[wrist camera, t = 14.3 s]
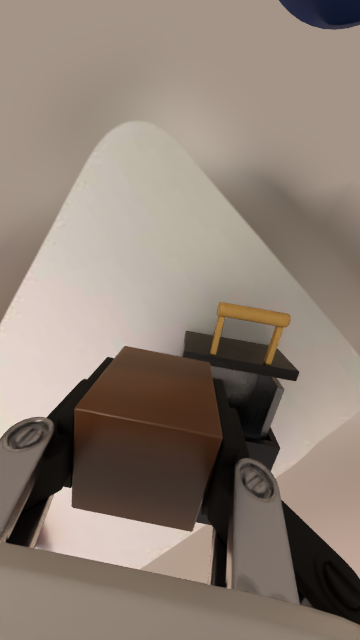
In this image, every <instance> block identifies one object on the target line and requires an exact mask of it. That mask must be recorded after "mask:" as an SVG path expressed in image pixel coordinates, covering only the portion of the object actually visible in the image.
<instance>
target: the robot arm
mask: <svg viewBox="0 0 360 640" xmlns="http://www.w3.org/2000/svg"><path fill="white" fill-rule="evenodd" d="M114 359H115V358H110V357H107V358H106V359H105V360H104V361H103V363H102V364H101V365H100V366H99V367H98V368H97V369H96V370H95V371H94V373H93V374H92V375H91V376H90V377H89V378H88V379H83V380H82V381H80V382H79V383H78V385H77V386H76V387H75V388H74V389H73V390H72V391H71V392H70V393H69V394H68V395H67V396H66V397H65V398H64V399H63V401H62V402H61V403H60V404H59V405H58V406H57V407H56V408H55V409H54V410H53V411H52V412H51V413H50V414H49V415H48V417H47V418H45V417H33V418H29V419H25V420H23V421H21V422H19V423H17V424H15V425H14V426H12V427H11V428H9V429H8V430H7V431H6V432H5V433H4V435H3V436H2V437H1V438H0V640H360V579H359V577H358V576H357V574H356V573H355V572H354V571H353V570H352V568H351V567H350V566H349V565H348V564H347V563H346V562H345V561H344V560H343V559H342V558H341V557H340V556H339V555H338V554H337V553H336V552H335V551H334V550H333V549H332V548H331V547H330V546H329V545H328V544H327V543H326V542H325V541H324V540H322V538H320V537H319V536H318V535H317V534H316V533H315V532H314V531H313V530H312V529H311V528H310V527H309V526H308V525H307V524H306V523H305V522H304V521H303V520H302V519H300V517H299V516H298V515H296V513H295V512H294V511H292V510H291V509H290V508H289V507H288V506H287V505H286V504H285V503H284V502H283V501H282V500H281V497H280V492H279V487H278V484H277V481H276V479H275V478H274V476H273V474H272V473H271V472H270V471H269V470H268V468H266V467H265V466H264V465H263V464H262V463H260V462H258V461H256V460H254V459H251V458H250V455H249V451H248V448H247V445H246V441H245V438H244V434H243V431H242V427H241V424H240V421H239V417H238V414H237V411H236V409H233V408H229V404H228V400H227V396H226V392H225V388H224V384H223V380H221V379H216V378H213V384H214V389H215V395H216V401H217V407H218V413H219V419H220V425H221V431H222V436H223V438H222V441H221V445H220V448H219V451H218V454H217V457H216V460H215V463H214V466H213V469H212V473H211V476H210V479H209V482H208V485H207V488H206V491H205V494H204V497H203V501H202V504H201V512H202V515H207V516H208V521H209V522H210V523H211V525H212V526H213V535H212V546H211V554H210V564H209V573H208V583H207V584H204V583H199V582H195V581H190V580H186V579H181V578H176V577H171V576H166V575H161V574H157V573H152V572H147V571H142V570H138V569H133V568H128V567H123V566H118V565H113V564H108V563H104V562H99V561H94V560H89V559H84V558H79V557H74V556H69V555H64V554H59V553H55V552H50V551H44V550H39V549H34V546H35V544H36V541H37V538H38V536H39V533H40V530H41V528H42V525H43V523H44V520H45V517H46V515H47V512H48V509H49V507H50V504H51V501H52V499H53V496H54V494H55V493H56V492H58V491H60V490H61V489H62V487H63V486H64V487H69V488H71V487H72V475H73V439H74V409H75V407H76V406H77V404H78V403H79V402H80V401H81V399H82V398H83V397H84V396H85V394H86V393H87V392H88V391H89V389H90V388H91V387H92V386H93V385H94V383H95V382H96V381H97V380H98V378H99V377H100V376H101V375H102V373H103V372H104V371H105V370H106V368H107V367H108V366H109V365H110V363H111V362H112V361H113V360H114Z"/></svg>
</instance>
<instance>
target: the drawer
mask: <svg viewBox="0 0 360 640" xmlns="http://www.w3.org/2000/svg"><path fill="white" fill-rule="evenodd" d="M217 315H218V320H217V324H216V329H215V333H214V336H212V335H206V334H201V333H195V332H189V331H186V333H185V338H184V347H183V356H182V357H184V358H189V359H194V360H199V361H204V362H209V363H210V366H211V372H212V378H216V379H221V380H223V384H224V388H225V392H226V396H227V400H228V404H229V408H233V409H236V411H237V414H238V417H239V421H240V424H241V427H242V431H243V434H244V436H246V437H251V438H256V439H262V440H265V439H266V436H267V433H268V431H269V428H270V426H271V423H272V420H273V418H274V415H275V413H276V410H277V407H278V405H279V402H280V400H281V397H282V394H283V392H284V388H283V387H282V385H281V384H280V382H279V381H278V380H277V378H281V379H286V380H292V381H296V379H297V377H298V374H299V371H298V370H297V369H296V368H295V367H294V366H293V365H292V364H291V362H290V361H289V360H288V359H287V358H286V357H285V356H284V355H283V354H282V353H281V352H280V351H279V350H278V349H277V345H278V342H279V340H280V337H281V334H282V331H283V327H287V326H288V325H289V323H290V319H291V318H290V315H289V314H286V313H280V312H275V311H269V310H263V309H258V308H252V307H246V306H240V305H235V304H229V303H223V302H219V305H218V309H217ZM225 317H229V318H234V319H240V320H246V321H251V322H257V323H263V324H268V325H274V326H275V329H274V332H273V335H272V338H271V341H270V344H269V346H268V345H262V344H257V343H251V342H245V341H240V340H234V339H229V338H223V337H220V336H221V332H222V328H223V323H224V319H225Z"/></svg>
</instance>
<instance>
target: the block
mask: <svg viewBox="0 0 360 640" xmlns="http://www.w3.org/2000/svg"><path fill="white" fill-rule="evenodd" d="M222 438H223V436H222V431H221V425H220V419H219V413H218V407H217V401H216V395H215V389H214V384H213V378H212V372H211V366H210V363H209V362H204V361H199V360H194V359H189V358H184V357H179V356H174V355H169V354H164V353H158V352H153V351H148V350H143V349H138V348H133V347H128V346H124V347H123V349H122V350H121V351H120V352H119V354H118V355H117V356H116V357H115V359H114V360H113V361H112V362H111V363H110V365H109V366H108V367H107V368H106V370H105V371H104V372H103V373H102V375H101V376H100V377H99V378H98V380H97V381H96V382H95V383H94V385H93V386H92V387H91V388H90V389H89V391H88V392H87V393H86V394H85V396H84V397H83V398H82V399H81V401H80V402H79V403H78V404H77V406H76V407H75V409H74V439H73V475H72V507H73V508H77V509H82V510H87V511H92V512H97V513H102V514H107V515H112V516H117V517H121V518H126V519H131V520H136V521H141V522H146V523H151V524H156V525H161V526H166V527H171V528H176V529H181V530H186V531H190V532H191V531H193V528H194V525H195V522H196V519H197V516H198V513H199V510H200V507H201V504H202V501H203V497H204V494H205V491H206V488H207V485H208V482H209V479H210V476H211V473H212V469H213V466H214V463H215V460H216V457H217V454H218V451H219V448H220V445H221V441H222Z"/></svg>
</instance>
